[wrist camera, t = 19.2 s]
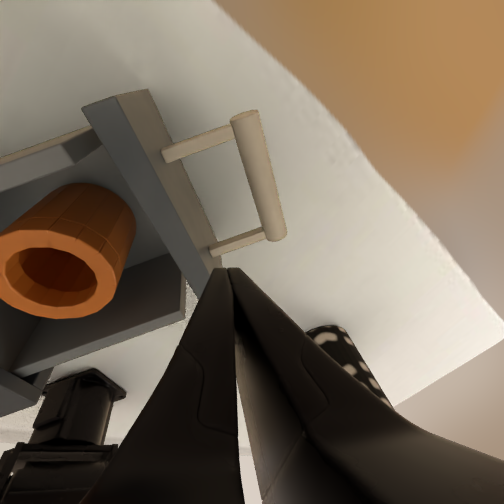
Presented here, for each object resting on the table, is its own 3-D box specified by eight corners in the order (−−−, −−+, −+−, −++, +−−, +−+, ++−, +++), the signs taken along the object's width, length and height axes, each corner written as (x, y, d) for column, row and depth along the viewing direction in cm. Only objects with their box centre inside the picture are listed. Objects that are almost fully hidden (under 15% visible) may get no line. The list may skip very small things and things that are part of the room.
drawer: (228, 58, 14) (259, 42, 8) (274, 224, 21) (309, 286, 15) (-75, 168, 14) (-283, 239, 8) (67, 298, 21) (14, 392, 15)
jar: (151, 240, 18) (137, 298, 14) (81, 265, 18) (42, 331, 14) (106, 170, 15) (66, 212, 10) (21, 199, 15) (-57, 256, 10)
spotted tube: (317, 369, 38) (412, 586, 22) (277, 356, 34) (357, 612, 18) (359, 335, 35) (505, 557, 19) (320, 317, 31) (464, 580, 15)
